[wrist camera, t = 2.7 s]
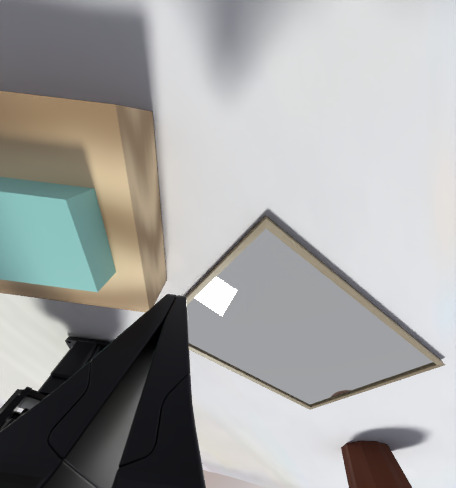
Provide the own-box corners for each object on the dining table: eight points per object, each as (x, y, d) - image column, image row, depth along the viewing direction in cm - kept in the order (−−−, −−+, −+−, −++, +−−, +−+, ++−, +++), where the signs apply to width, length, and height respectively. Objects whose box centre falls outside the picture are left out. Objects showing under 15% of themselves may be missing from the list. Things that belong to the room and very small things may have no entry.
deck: (166, 280, 19) (149, 312, 16) (30, 262, 19) (-16, 290, 16) (152, 111, 12) (115, 104, 9) (-65, 85, 12) (-186, 68, 9)
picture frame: (156, 324, 24) (308, 401, 31) (153, 331, 23) (309, 409, 30) (265, 213, 15) (437, 355, 23) (266, 218, 14) (445, 364, 22)
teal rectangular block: (116, 272, 14) (97, 292, 12) (-6, 256, 14) (-42, 273, 12) (94, 188, 11) (65, 199, 9) (-63, 169, 11) (-121, 176, 9)
